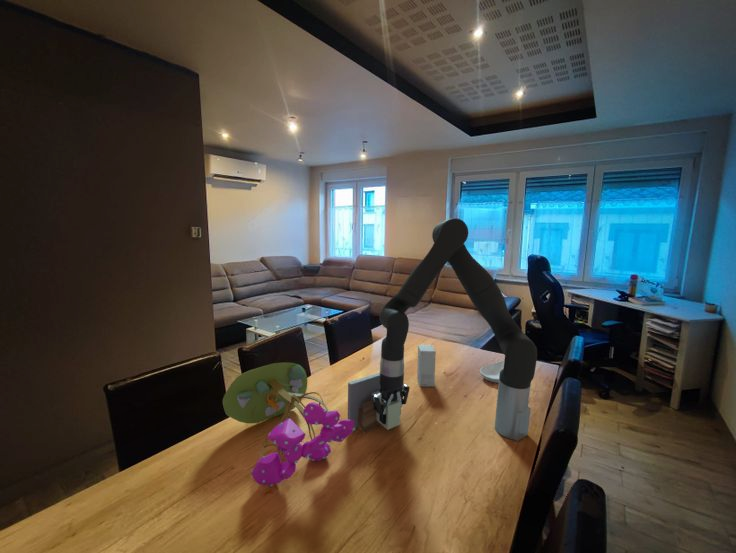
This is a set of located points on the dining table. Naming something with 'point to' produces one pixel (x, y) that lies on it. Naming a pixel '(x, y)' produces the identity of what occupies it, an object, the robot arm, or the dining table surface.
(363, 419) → the brown wooden block
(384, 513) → the dining table surface
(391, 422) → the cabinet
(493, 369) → the spoon rest
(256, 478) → the magenta clustered figurine
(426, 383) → the skincare box
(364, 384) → the wall board
